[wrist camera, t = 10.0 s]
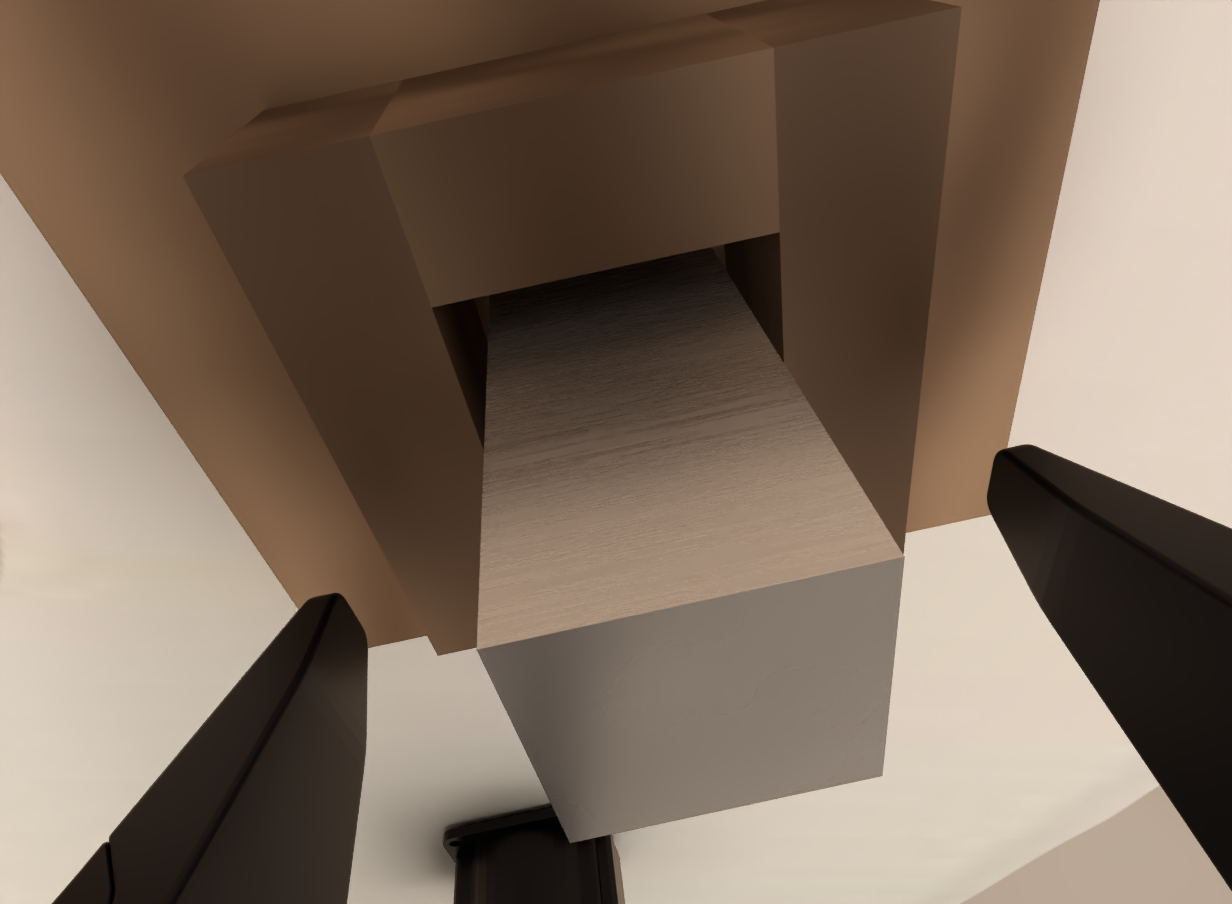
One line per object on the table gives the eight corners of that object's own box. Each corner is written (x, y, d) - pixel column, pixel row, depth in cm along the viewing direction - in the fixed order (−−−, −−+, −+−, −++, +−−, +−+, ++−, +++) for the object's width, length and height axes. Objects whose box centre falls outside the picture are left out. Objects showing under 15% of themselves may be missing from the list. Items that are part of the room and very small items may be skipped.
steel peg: (538, 407, 17) (569, 843, 9) (491, 247, 15) (476, 649, 7) (704, 371, 17) (882, 775, 9) (684, 204, 14) (904, 556, 7)
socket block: (339, 616, 22) (299, 786, 18) (-116, -100, 11) (-497, -108, 7) (967, 482, 22) (1079, 620, 18) (1112, -370, 11) (1491, -547, 7)
